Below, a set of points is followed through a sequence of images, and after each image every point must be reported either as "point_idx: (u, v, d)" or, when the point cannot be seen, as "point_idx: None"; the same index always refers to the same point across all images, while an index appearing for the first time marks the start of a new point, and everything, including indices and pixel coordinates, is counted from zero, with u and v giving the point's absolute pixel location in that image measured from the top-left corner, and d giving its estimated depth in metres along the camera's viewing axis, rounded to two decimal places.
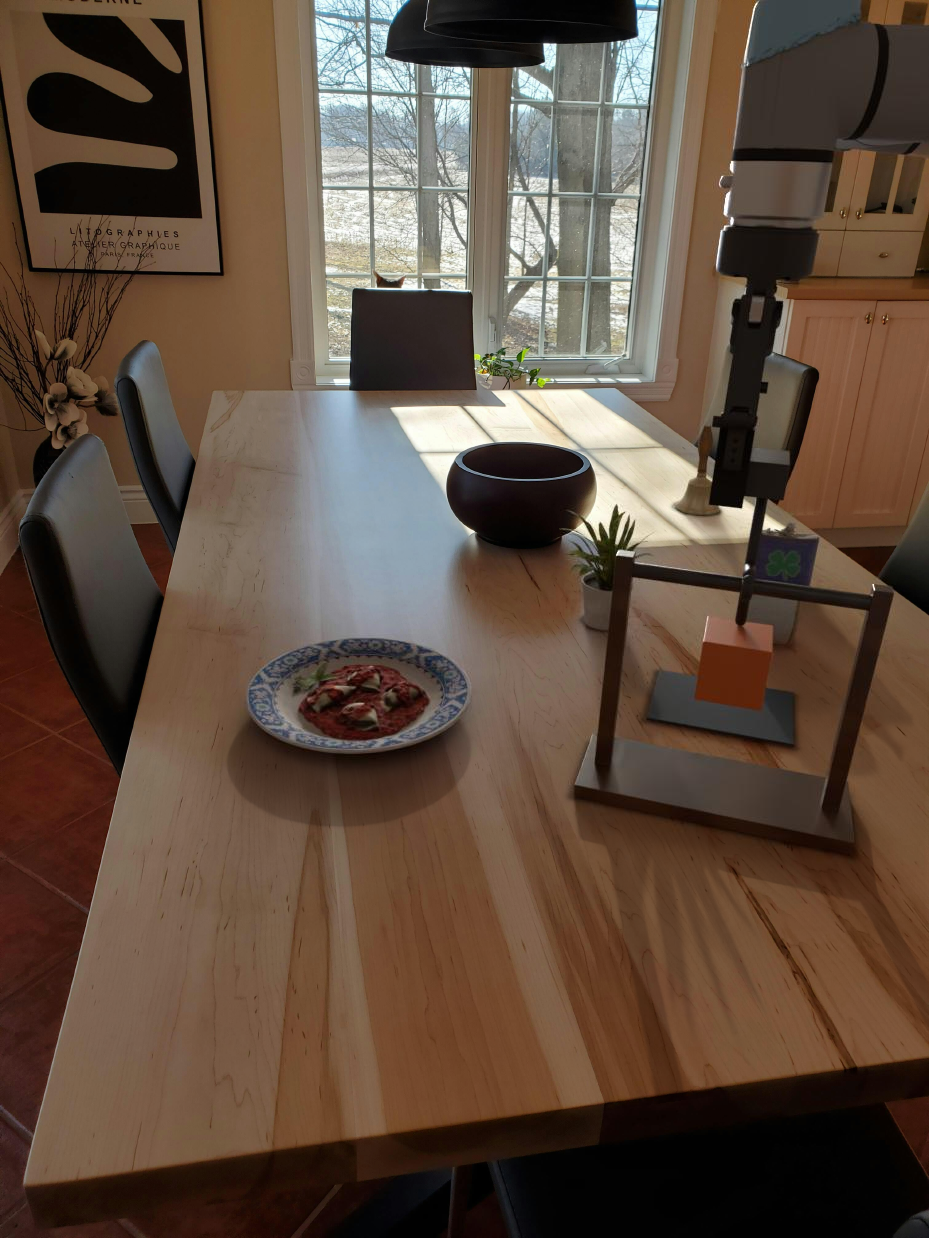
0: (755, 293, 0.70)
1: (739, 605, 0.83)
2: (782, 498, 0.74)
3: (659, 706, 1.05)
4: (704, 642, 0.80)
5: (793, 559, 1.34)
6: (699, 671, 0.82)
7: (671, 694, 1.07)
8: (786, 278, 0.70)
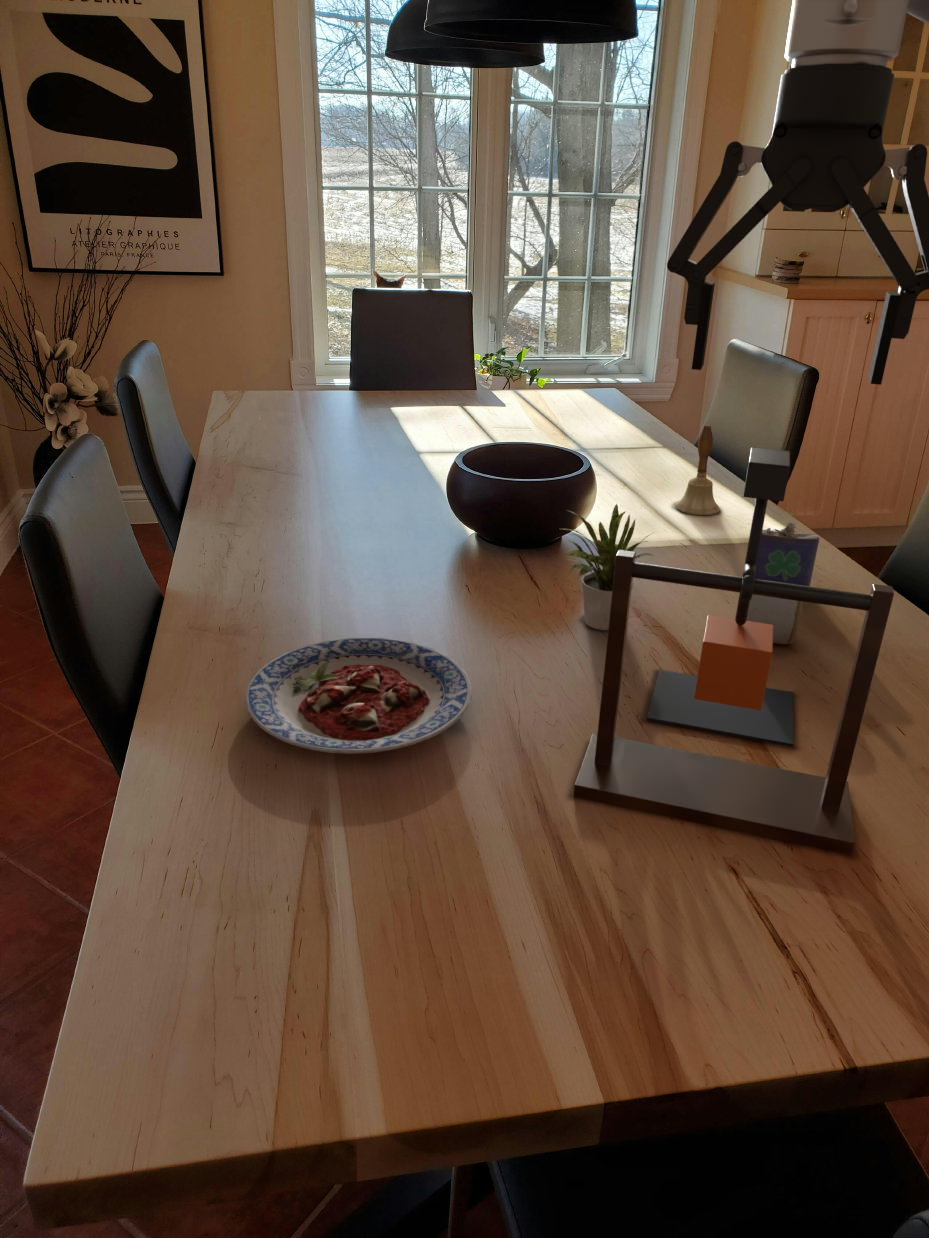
0: None
1: (739, 605, 0.83)
2: (782, 499, 0.74)
3: (659, 706, 1.05)
4: (704, 642, 0.81)
5: (793, 559, 1.34)
6: (699, 671, 0.82)
7: (671, 694, 1.07)
8: None
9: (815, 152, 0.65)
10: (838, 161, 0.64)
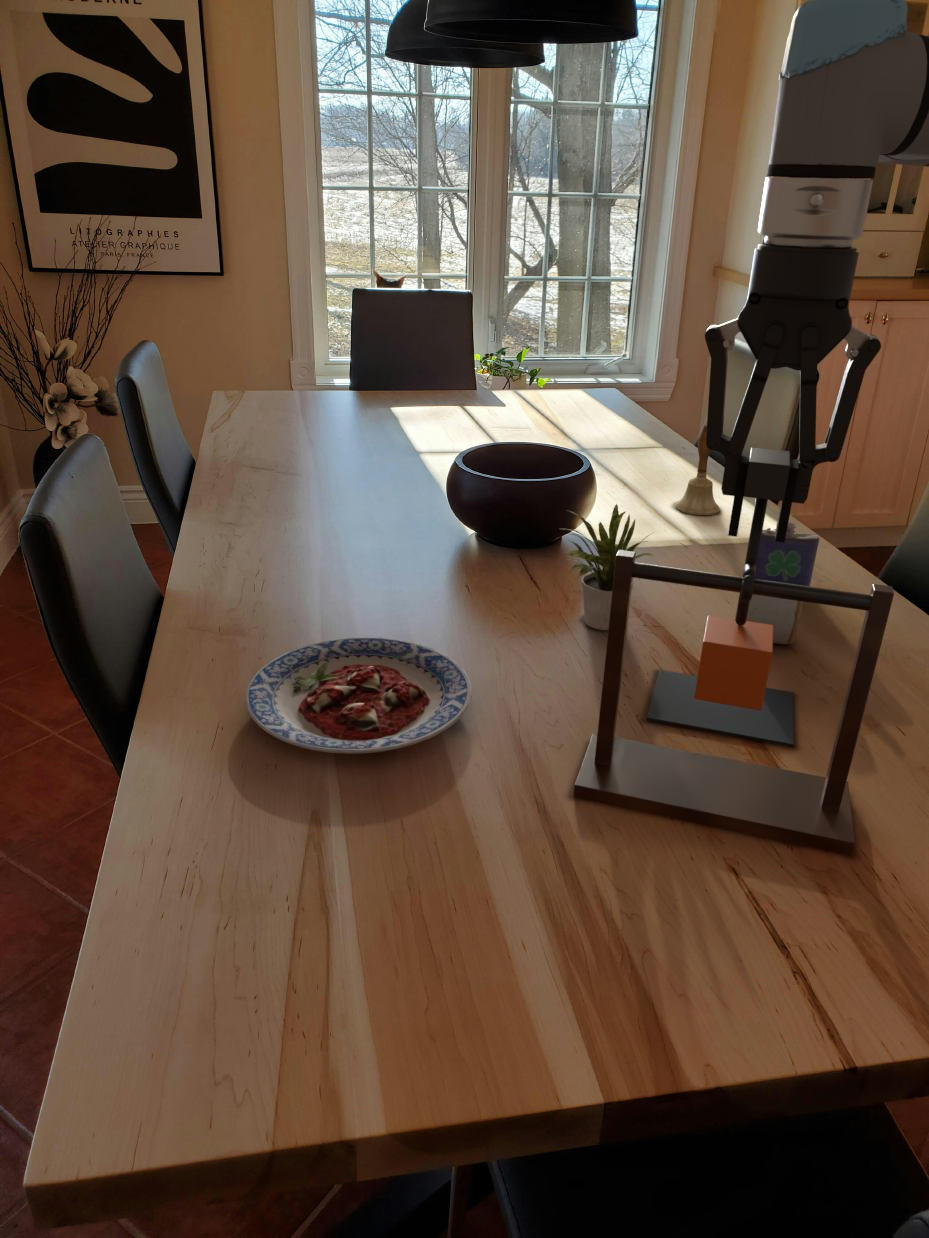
0: None
1: (739, 605, 0.83)
2: (782, 499, 0.74)
3: (659, 706, 1.05)
4: (704, 642, 0.81)
5: (793, 559, 1.34)
6: (699, 671, 0.82)
7: (671, 694, 1.07)
8: None
9: (782, 301, 0.69)
10: (811, 328, 0.69)
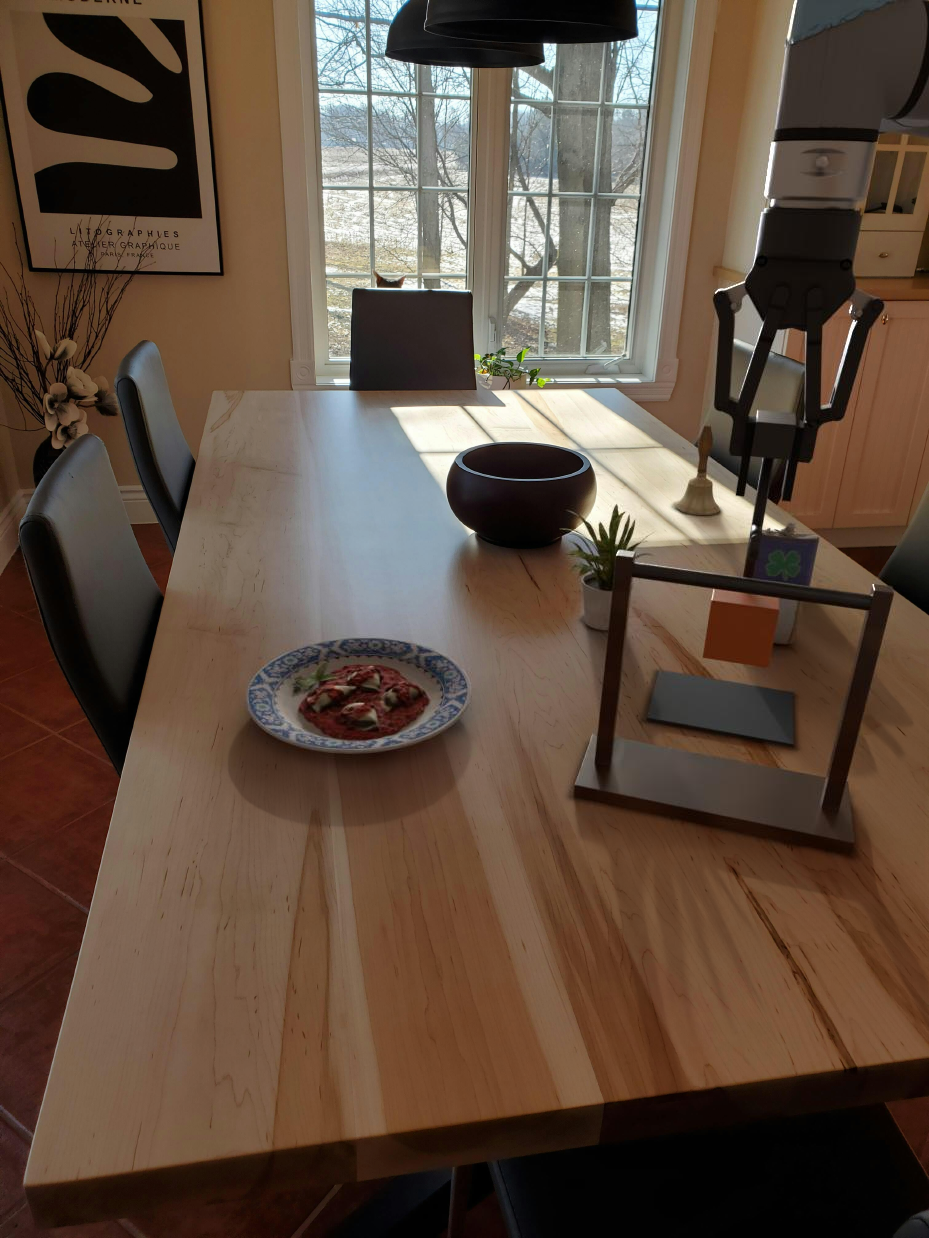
0: None
1: (746, 565, 0.85)
2: (788, 458, 0.76)
3: (659, 706, 1.05)
4: (712, 601, 0.83)
5: (793, 559, 1.34)
6: (708, 630, 0.84)
7: (671, 694, 1.07)
8: None
9: (788, 263, 0.71)
10: (816, 289, 0.71)
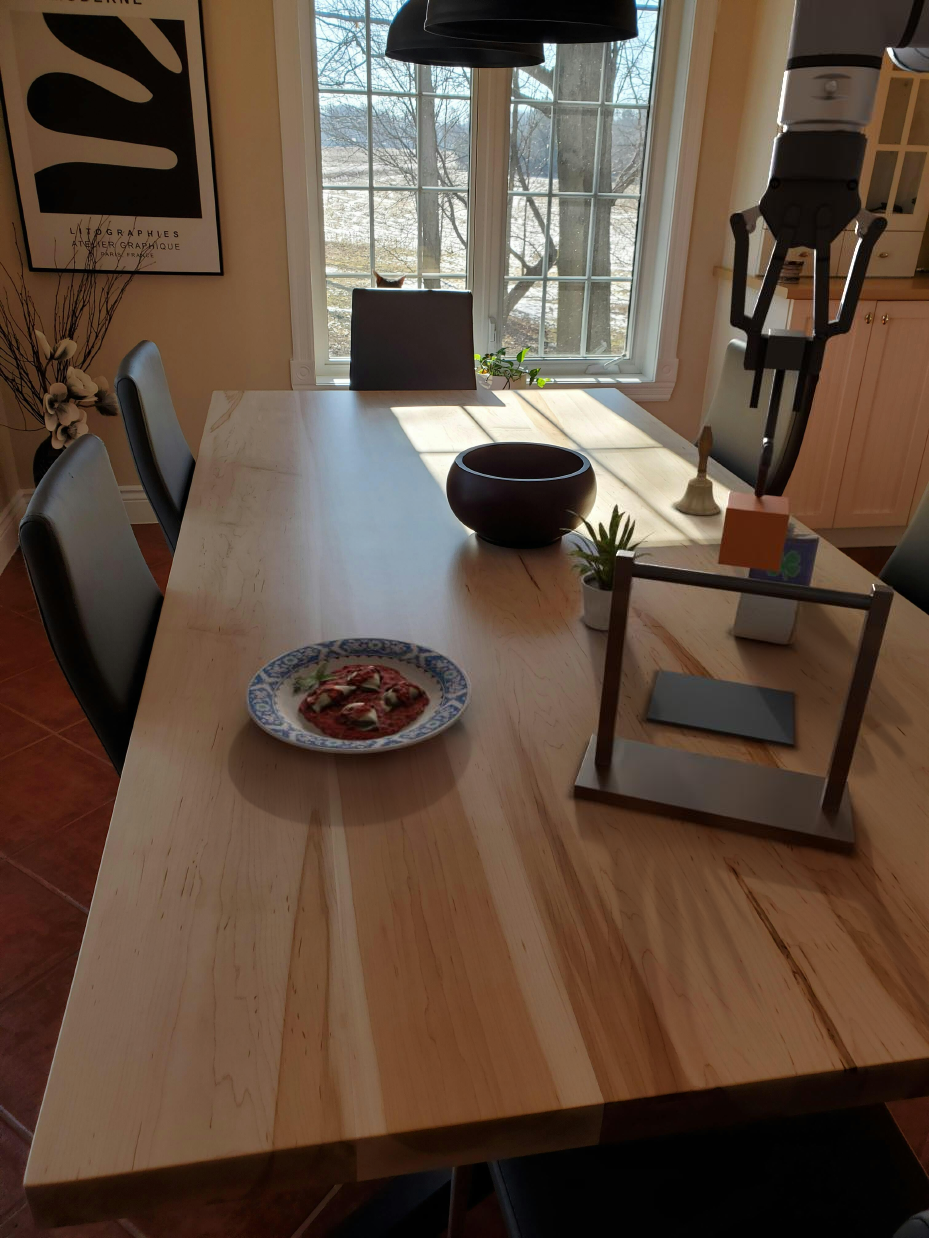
0: None
1: (758, 478, 0.91)
2: (799, 369, 0.82)
3: (659, 706, 1.05)
4: (727, 508, 0.89)
5: (793, 559, 1.34)
6: (722, 536, 0.90)
7: (671, 694, 1.07)
8: None
9: (799, 184, 0.78)
10: (825, 208, 0.77)
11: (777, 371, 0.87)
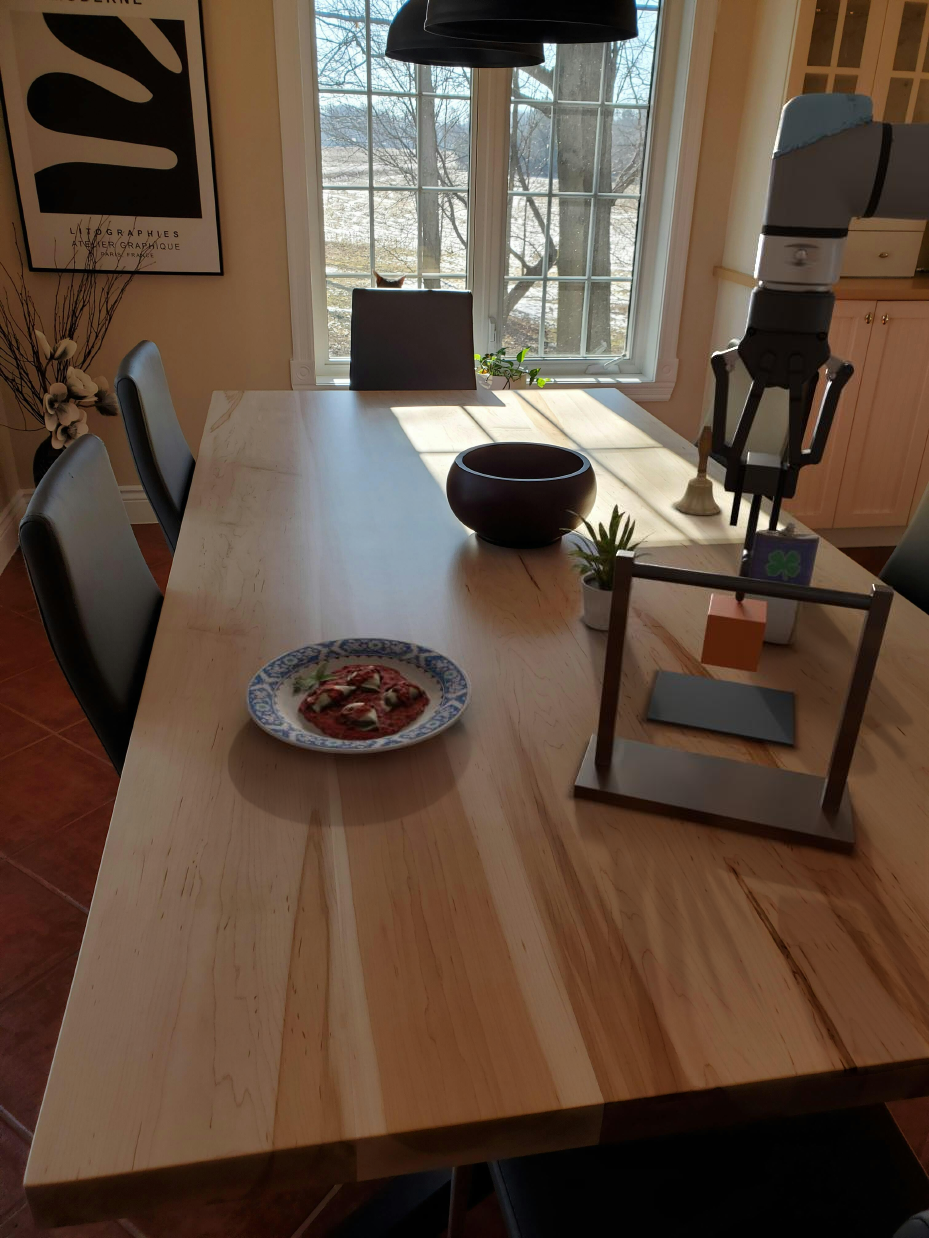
0: None
1: None
2: (774, 494, 0.90)
3: (659, 706, 1.05)
4: (709, 615, 0.96)
5: (793, 559, 1.34)
6: (705, 639, 0.98)
7: (671, 694, 1.07)
8: None
9: (774, 333, 0.85)
10: (797, 356, 0.84)
11: None
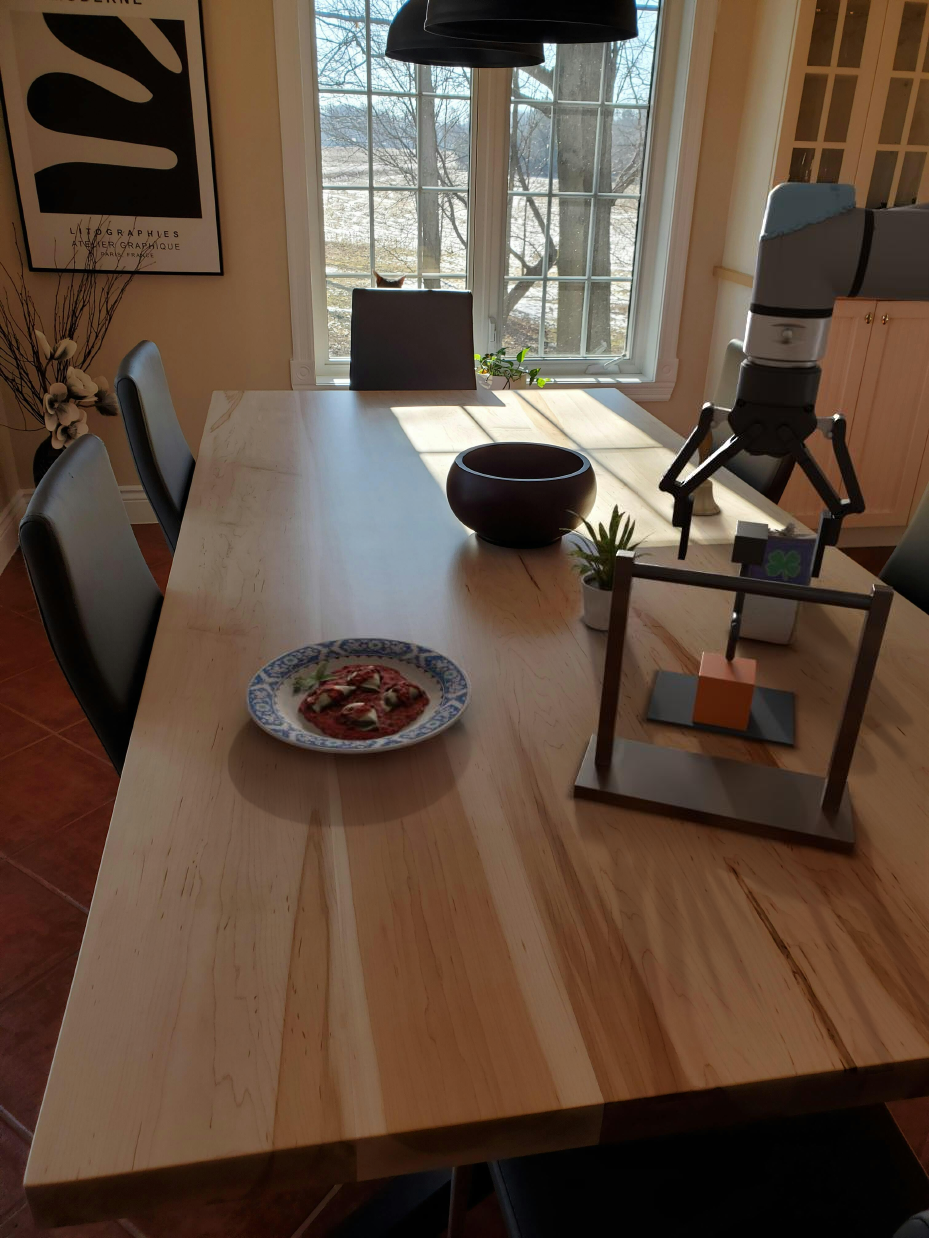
0: None
1: (728, 644, 1.02)
2: (761, 564, 0.93)
3: (659, 706, 1.05)
4: (700, 676, 0.99)
5: (793, 559, 1.34)
6: (696, 699, 1.01)
7: (671, 694, 1.07)
8: None
9: (766, 418, 0.88)
10: (782, 427, 0.87)
11: None
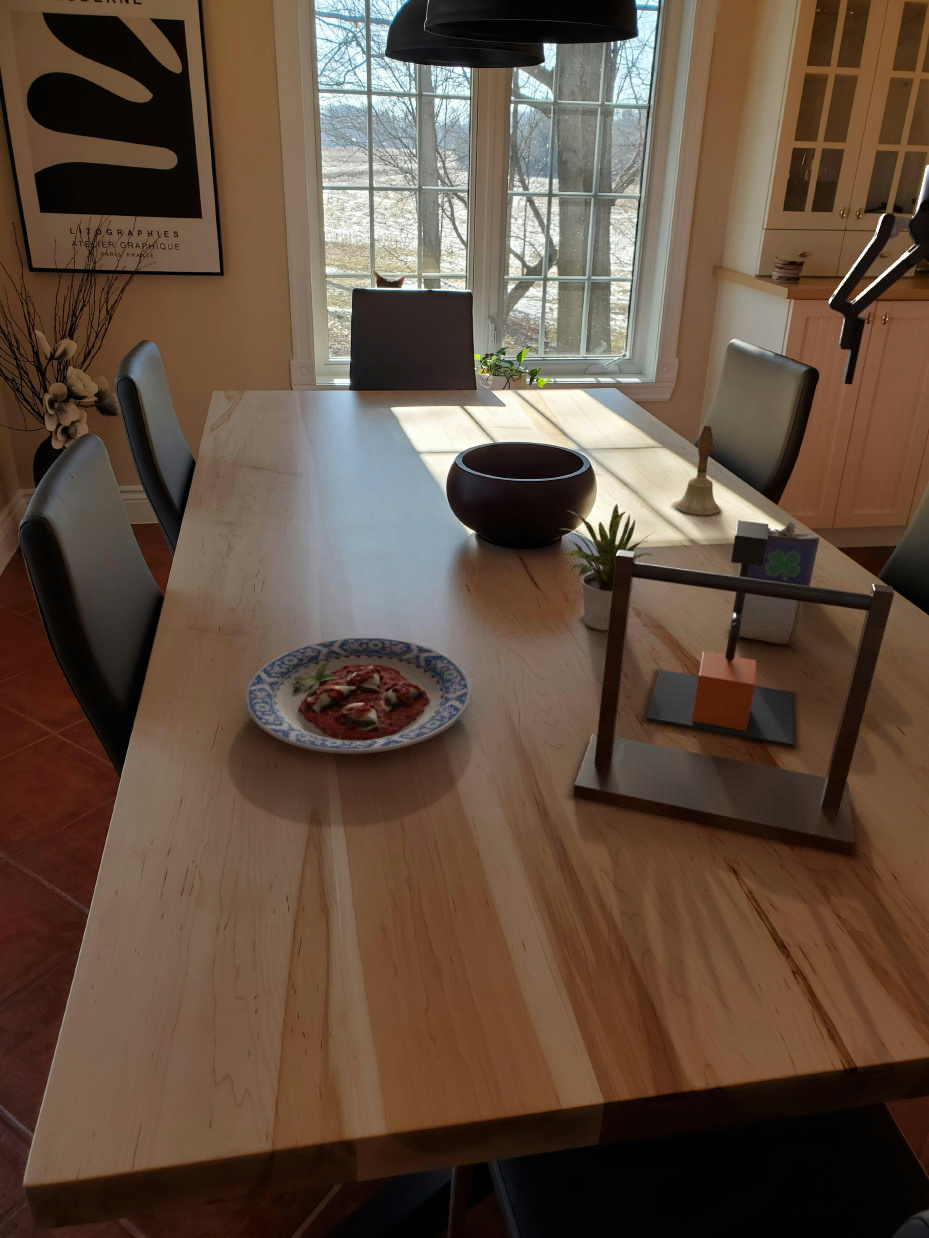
0: None
1: (728, 644, 1.02)
2: (761, 564, 0.93)
3: (659, 706, 1.05)
4: (700, 676, 0.99)
5: (793, 559, 1.34)
6: (696, 699, 1.01)
7: (671, 694, 1.07)
8: None
9: None
10: None
11: None
